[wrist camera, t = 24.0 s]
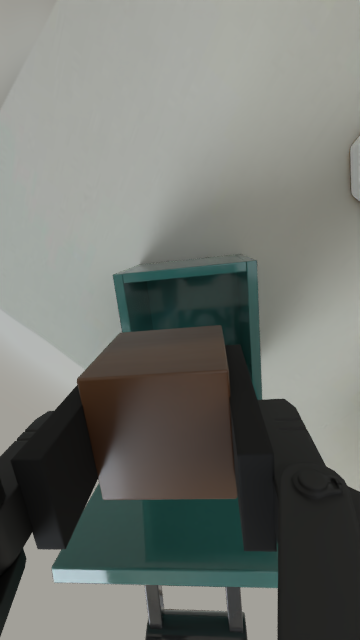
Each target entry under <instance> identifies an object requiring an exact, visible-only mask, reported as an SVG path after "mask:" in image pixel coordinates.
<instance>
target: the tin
mask: <svg viewBox="0 0 360 640" xmlns="http://www.w3.org/2000/svg"><path fill="white" fill-rule="evenodd" d="M113 279H114V285H115V291H116V297H117V303H118V309H119V316H120V322H121V328H122V333H124V332H137V331H150V330H163V329H176V328H188V327H201V326H214V325H221V326H222V331H223V337H224V344H225V345H238V344H240V345H241V348H242V351H243V355H244V358H245V361H246V364H247V368H248V371H249V374H250V377H251V381H252V384H253V387H254V390H255V393H256V397H257V400H262V383H261V356H260V329H259V303H258V276H257V260H255V259H252V258H250V257H248V256H246V255H243V254H236V255H226V256H217V257H207V258H197V259H188V260H178V261H168V262H159V263H149V264H139V265H137V266H134V267H132V268H129V269H127V270H124V271H121V272H119V273H116V274H114V275H113Z"/></svg>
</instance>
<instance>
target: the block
mask: <svg viewBox="0 0 360 640" xmlns="http://www.w3.org/2000/svg"><path fill="white" fill-rule="evenodd" d="M77 384H78V389H79V394H80V398H81V403H82V406H83V411H84V415H85V420H86V424H87V429H88V433H89V438H90V442H91V447H92V451H93V456H94V461H95V465H96V470H97V474H98V480H99V485H100V489H101V494H102V498H103V500H164V499H236V498H237V497H238V495H237V487H236V478H235V466H234V452H233V438H232V425H231V411H230V396H231V393H230V379H229V369H228V362H227V356H226V350H225V344H224V337H223V331H222V326H221V325H214V326H201V327H188V328H176V329H163V330H150V331H137V332H124V333H119V334H118V335H117V336H116V338H115V339H114V340H113V341H112V342H111V343H110V344H109V345H108V346H107V347H106V348H105V349H104V350H103V352H102V353H101V354H100V355H99V356H98V357H97V358H96V359H95V360H94V361H93V362H92V363H91V364H90V366H89V367H88V368H87V369H86V370H85V371H84V372H83V373H82V374H81V375H80V376H79V377H78V379H77Z"/></svg>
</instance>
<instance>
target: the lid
mask: <svg viewBox="0 0 360 640" xmlns="http://www.w3.org/2000/svg"><path fill="white" fill-rule="evenodd" d="M52 575H53V581H54V582H55V583H85V584H126V585H145V593H146V601H147V609H148V623H147V630H146V640H247V630H246V622H245V613H244V612H242V606H241V594H240V593H241V592H240V587H250V588H278V543H277V552H263V551H244V547H243V538H242V530H241V521H240V512H239V504H238V497H237V498H236V499H164V500H103V498H102V494H101V489H100V485H99V484H98V486H97V487H96V489H95V491H94V493H93V495H92V496H91V498H90V500H89V502H88V503H87V505H86V507H85V509H84V510H83V512H82V515H81V517H80V519H79V521H78V523H77V526H76V528H75V530H74V532H73V534H72V537H71V539H70V541H69V543H68V545H67V547H66V549H61V551H60V553H59V555H58V557H57V558H56V560H55V562H54V564H53V565H52ZM161 585H169V586H209V587H226V599H227V611H205V610H176V609H175V610H174V609H164V604H163V595H162V586H161Z"/></svg>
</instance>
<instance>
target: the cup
mask: <svg viewBox="0 0 360 640" xmlns="http://www.w3.org/2000/svg"><path fill="white" fill-rule="evenodd" d="M350 157H351V193H352V195H353V197H355V198H356V199H357V200H359V201H360V136H359V137H358V138H357V140H356V141H355V142H354V143H353V145H352V146H351V149H350Z"/></svg>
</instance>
